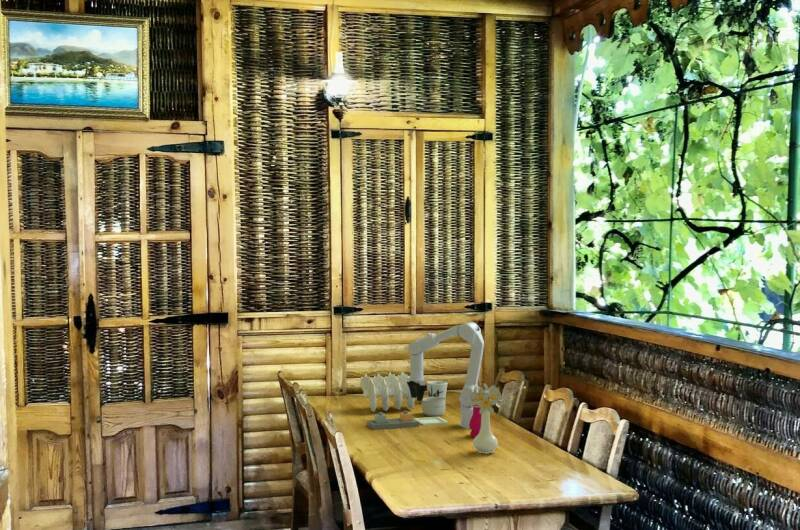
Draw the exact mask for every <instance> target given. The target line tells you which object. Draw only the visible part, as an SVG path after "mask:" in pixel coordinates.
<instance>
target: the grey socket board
mask: <svg viewBox="0 0 800 530" xmlns="http://www.w3.org/2000/svg"><path fill="white" fill-rule="evenodd" d="M366 426H367V427H369V429H370V428H371V429H372V430H373V431H379V430H391V429H392V430H393V429H403V428H418V427H420V424H419V422H418V421H417V420H415V419H414V418H413V417H412V421H408V422H400V417H398V418H397V417H396V418H395V417H394V418H387V423H380V424H376V423H375V419H370V420H369V419H368V420H366Z"/></svg>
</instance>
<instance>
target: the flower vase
mask: <svg viewBox="0 0 800 530" xmlns="http://www.w3.org/2000/svg"><path fill="white" fill-rule="evenodd" d="M478 386H479V385H478ZM478 386H477V388H476V386H475V387H474V392H471V395H470V397H469V398H472V399H471V400H470V401H469V402H471V401H472V400H473V401H472V403H471V405H475V404H476V405H478V406H481V408H480V414H482V417H481V429H480V432H479V434H478V435H477V436H476V437H473V441H472V445H473V447H474V448H475V450H476V452H477V453H478V454H481V453H483V455H490V454H489V453H491V454H493V453H494V452H495V450H496V448H498V446H499V441H498V439H497V437H496V436H495V435H494V434H493V432H492V429H491V423H490V414H494V413H495V410H494V408H493V407H492V406H494V405H495V406H496V407H497V408H498V409H499V408H501V406H504V405H503V402H502V401H504V400H505V398H504V396H502V394H501V392H500V387H496V386H495V384H493V385H490V387H489V386H488V384H487V383H485V382H483V387H482V386H481V387H480V386H479V387H480V389H479V390H478ZM478 391H479V392H478ZM478 393H479V394H478ZM484 453H485V454H484Z"/></svg>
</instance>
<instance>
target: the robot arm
mask: <svg viewBox="0 0 800 530" xmlns="http://www.w3.org/2000/svg"><path fill="white" fill-rule="evenodd" d="M481 331H482V330H481V328H480V327H479V325H478V324H477V323H476V322H473V321H469V322H466V323H462V324H458V325H455V326H451V327H450V328H447V329H446V330H444V331H442V332H439V333H437V334H436V333H430V332H429V333H427V334H426V336H424V337H419V338H417V340H413V341H411V342H409V344H408V348H407V350H408V352H409V355H410V356H409V358H410V359H409V364H410V365H409V371H410V372H409V373H410V374H409V375H408V377H409V378H408V380H409V381H410V382H407V384H408V387H409V389H410V394H411V398H415V399H416V401H417V402H422V400H423V398H424V395H425V391H426V390H427V384H426V381H425V378H424V352H427V351H429V350H430V349H433V348H436V347H437V346H439V344H440V342H441V341H444V340H447V339H448V338H451V337H453V336H455V337H460V338H462V339H463V340H465V341H466V342H467V343H468V344H469V346H470V347H471V349H470V355H469V360H468V367H467V372H466V373H467V374H466V378H465V383H464V385H463V387H462V391H461V393H460V394H459V396H458V400H459V403H460V423H456V425H458V426H460V427H462V428H463V429H466V430H467V429H470V427H469V422H470V420H471V417H472V415H473V406H472V405H471V403H472V401H471V402H469V401H470V400H471V398H469V397H470V395H471V392H474V387H475V386H476V387H477V386H478V387H480V386H479V384H478V383H479V377H480V373H481V372H480V371H481V368H482V367H481V366H482V361H483V354H484V348H485V341H484V337H483V335H482V332H481ZM470 430H471V429H470Z"/></svg>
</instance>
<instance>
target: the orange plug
mask: <svg viewBox="0 0 800 530" xmlns="http://www.w3.org/2000/svg"><path fill="white" fill-rule="evenodd" d="M399 418H400V422H408V421H412V418H413V414H412V413H411V412H409V411H408V410H406V409H405V410H403V412H399Z"/></svg>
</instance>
